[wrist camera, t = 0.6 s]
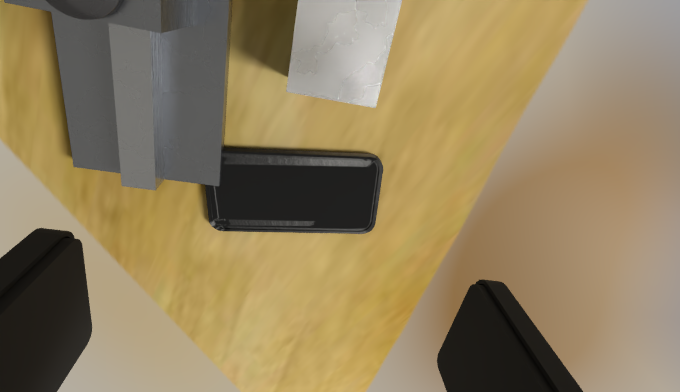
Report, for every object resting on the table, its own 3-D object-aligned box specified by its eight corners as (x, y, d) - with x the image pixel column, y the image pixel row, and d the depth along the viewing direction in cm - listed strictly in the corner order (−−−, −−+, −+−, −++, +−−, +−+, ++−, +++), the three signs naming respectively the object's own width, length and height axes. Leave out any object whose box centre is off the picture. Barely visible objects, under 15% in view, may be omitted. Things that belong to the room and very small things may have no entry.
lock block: (289, 77, 28) (286, 91, 24) (303, -33, 25) (303, -40, 20) (364, 91, 29) (375, 108, 24) (388, -12, 26) (405, -15, 21)
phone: (201, 149, 29) (384, 157, 31) (205, 144, 30) (382, 152, 32) (210, 231, 33) (373, 235, 34) (213, 225, 34) (371, 228, 35)
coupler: (50, -79, 22) (-85, -120, 15) (234, -35, 24) (201, -52, 16) (81, 160, 29) (3, 218, 22) (222, 180, 31) (195, 238, 24)
